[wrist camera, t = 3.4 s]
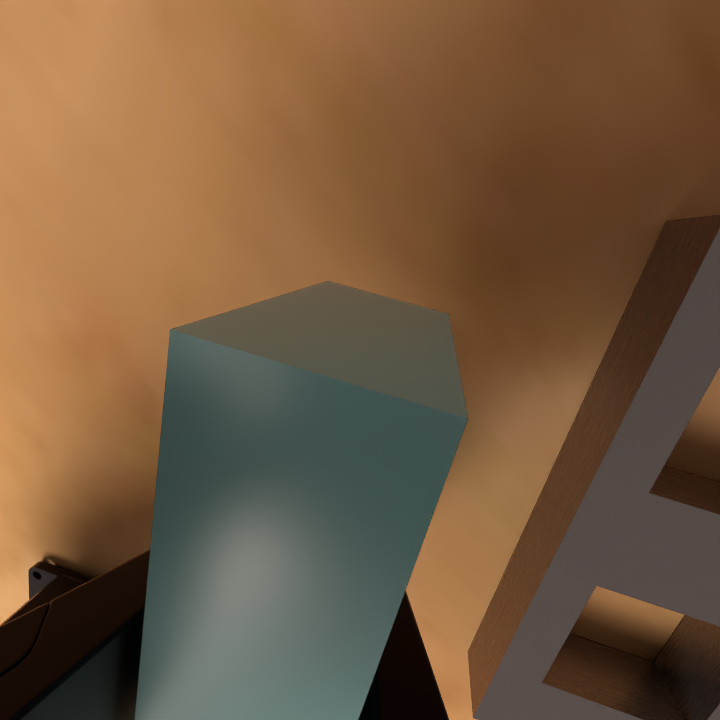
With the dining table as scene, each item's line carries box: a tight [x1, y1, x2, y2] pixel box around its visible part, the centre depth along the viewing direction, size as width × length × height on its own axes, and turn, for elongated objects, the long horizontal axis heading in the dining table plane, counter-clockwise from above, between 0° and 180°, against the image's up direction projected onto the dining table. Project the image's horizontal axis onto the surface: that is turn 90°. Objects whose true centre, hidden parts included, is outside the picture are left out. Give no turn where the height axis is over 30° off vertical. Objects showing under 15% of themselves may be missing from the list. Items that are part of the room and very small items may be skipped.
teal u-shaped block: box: [135, 281, 468, 720], centre depth 8 cm, size 10×3×6 cm, turn 166°
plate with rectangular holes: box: [468, 215, 720, 720], centre depth 13 cm, size 18×8×2 cm, turn 166°
